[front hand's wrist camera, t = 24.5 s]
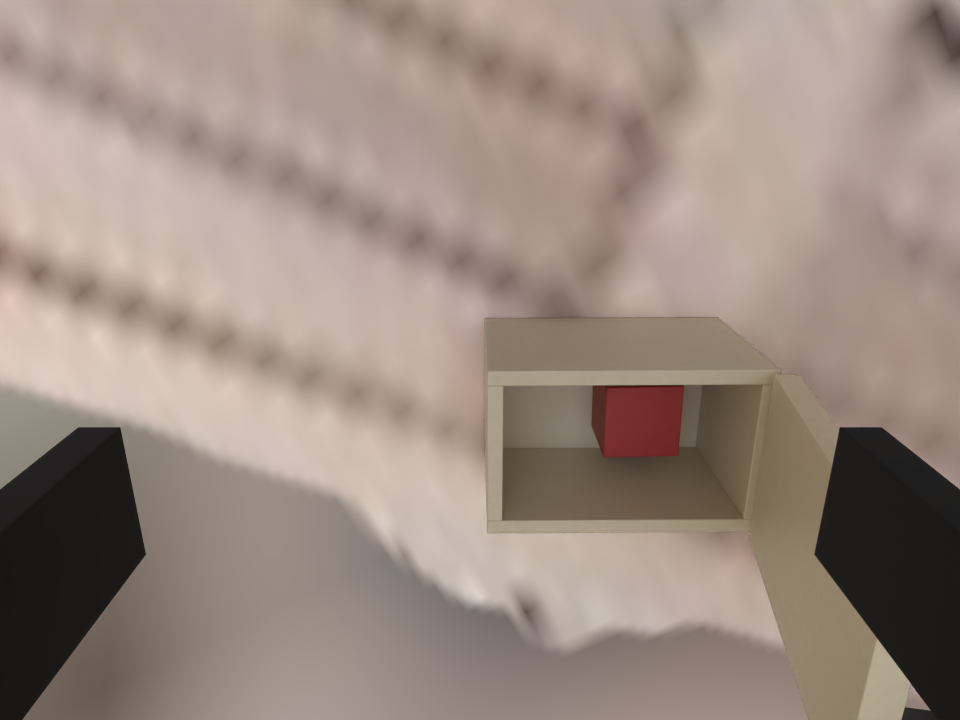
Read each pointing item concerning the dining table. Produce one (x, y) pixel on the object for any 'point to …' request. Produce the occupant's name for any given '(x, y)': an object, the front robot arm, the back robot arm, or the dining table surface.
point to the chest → (573, 445)
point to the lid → (815, 571)
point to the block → (637, 419)
